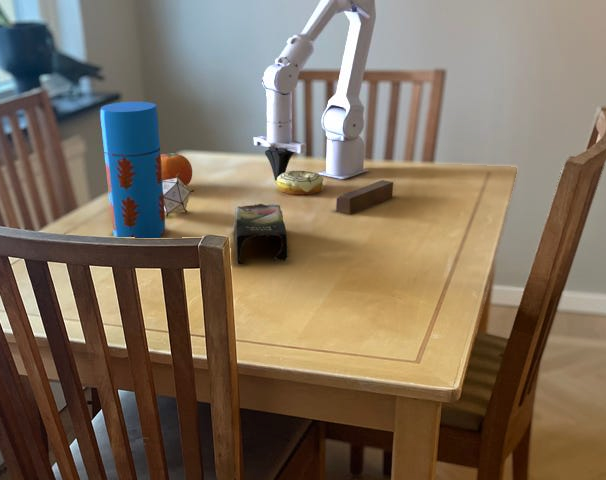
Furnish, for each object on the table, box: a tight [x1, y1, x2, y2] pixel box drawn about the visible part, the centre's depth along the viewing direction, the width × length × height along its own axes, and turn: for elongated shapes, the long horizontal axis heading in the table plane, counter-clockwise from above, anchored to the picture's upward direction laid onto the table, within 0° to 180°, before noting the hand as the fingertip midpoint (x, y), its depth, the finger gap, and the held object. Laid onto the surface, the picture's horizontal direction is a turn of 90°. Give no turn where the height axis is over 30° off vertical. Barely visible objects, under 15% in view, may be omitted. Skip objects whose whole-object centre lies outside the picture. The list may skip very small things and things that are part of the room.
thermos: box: [100, 101, 166, 239], centre depth 156 cm, size 11×11×25 cm
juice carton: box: [232, 203, 289, 265], centre depth 152 cm, size 20×10×6 cm, turn 1°
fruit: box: [161, 152, 193, 187], centre depth 189 cm, size 11×10×8 cm
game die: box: [162, 174, 195, 219], centre depth 171 cm, size 9×8×10 cm
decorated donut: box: [276, 170, 324, 196], centre depth 185 cm, size 10×11×4 cm
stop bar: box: [335, 179, 394, 215], centre depth 174 cm, size 16×4×4 cm, turn 136°
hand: (279, 179), depth 189 cm, fingers closed
